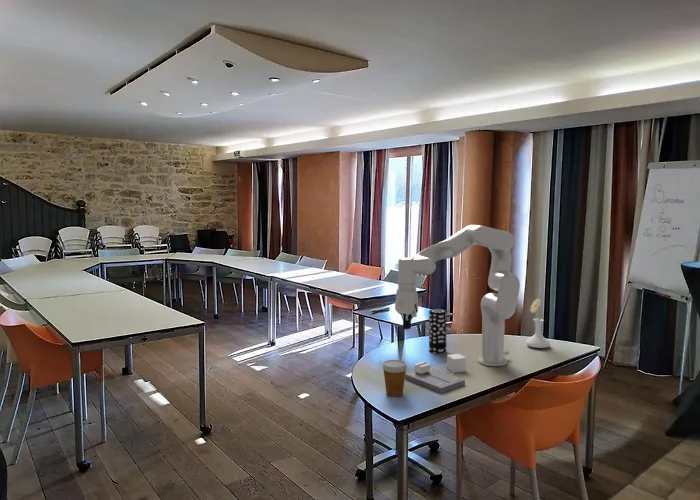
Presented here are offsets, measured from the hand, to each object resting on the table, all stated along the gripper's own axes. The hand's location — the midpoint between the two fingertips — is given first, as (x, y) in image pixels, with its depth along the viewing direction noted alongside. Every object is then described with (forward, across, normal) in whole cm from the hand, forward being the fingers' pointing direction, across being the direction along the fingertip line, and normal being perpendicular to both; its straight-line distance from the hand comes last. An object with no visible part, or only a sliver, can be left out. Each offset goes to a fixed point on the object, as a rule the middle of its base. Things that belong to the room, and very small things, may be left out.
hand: (406, 328), depth 216 cm
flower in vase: (+19, +16, +74) cm, 78 cm away
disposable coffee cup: (+19, +15, -21) cm, 32 cm away
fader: (+17, +9, 0) cm, 19 cm away
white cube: (+19, +12, +18) cm, 29 cm away
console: (+19, +16, 0) cm, 25 cm away
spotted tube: (+19, -11, +31) cm, 38 cm away
